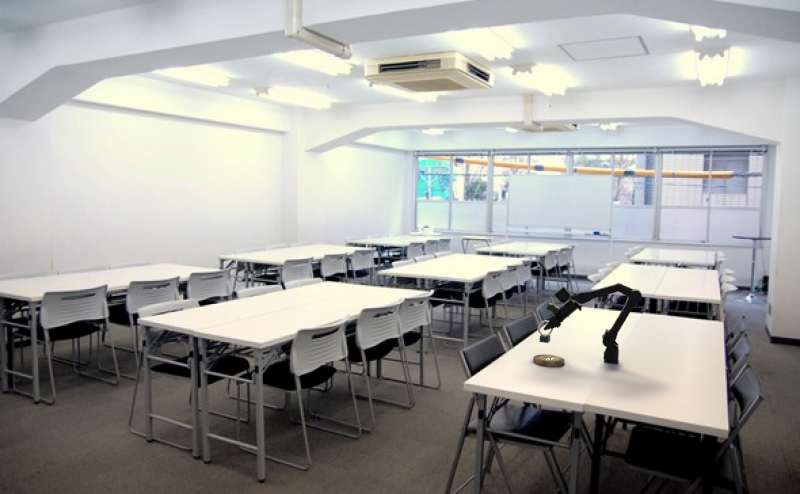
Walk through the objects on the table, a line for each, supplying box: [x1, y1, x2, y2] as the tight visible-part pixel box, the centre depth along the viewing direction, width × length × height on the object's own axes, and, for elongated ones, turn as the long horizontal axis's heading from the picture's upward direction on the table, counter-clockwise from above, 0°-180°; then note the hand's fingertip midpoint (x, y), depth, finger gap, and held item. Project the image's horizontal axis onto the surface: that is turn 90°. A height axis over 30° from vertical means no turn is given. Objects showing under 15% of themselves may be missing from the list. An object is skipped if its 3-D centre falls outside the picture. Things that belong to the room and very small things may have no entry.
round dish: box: [532, 353, 566, 368], centre depth 282 cm, size 15×15×2 cm
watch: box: [537, 319, 554, 344], centre depth 297 cm, size 6×8×11 cm
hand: (544, 328), depth 297 cm, fingers closed on watch, 4 cm apart
